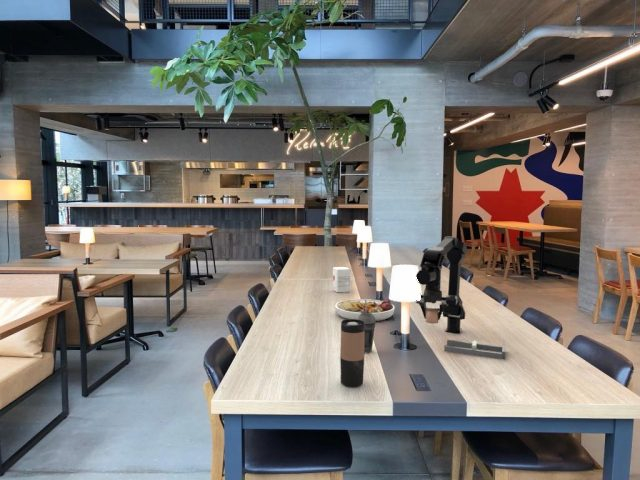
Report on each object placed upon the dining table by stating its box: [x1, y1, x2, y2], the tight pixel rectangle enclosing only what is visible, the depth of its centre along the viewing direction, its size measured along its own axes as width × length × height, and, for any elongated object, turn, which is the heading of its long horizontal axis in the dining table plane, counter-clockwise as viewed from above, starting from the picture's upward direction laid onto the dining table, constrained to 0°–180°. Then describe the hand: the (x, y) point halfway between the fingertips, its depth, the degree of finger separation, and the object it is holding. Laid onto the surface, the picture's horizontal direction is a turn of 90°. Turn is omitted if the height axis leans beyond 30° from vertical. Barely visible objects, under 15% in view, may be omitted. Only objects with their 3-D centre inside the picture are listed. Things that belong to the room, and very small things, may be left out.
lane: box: [443, 339, 507, 360], centre depth 176 cm, size 9×22×3 cm, turn 67°
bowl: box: [334, 298, 396, 322], centre depth 229 cm, size 30×30×8 cm
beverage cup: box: [358, 300, 377, 354], centre depth 174 cm, size 7×7×20 cm
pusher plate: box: [471, 340, 478, 350], centre depth 176 cm, size 6×2×3 cm, turn 157°
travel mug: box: [339, 319, 365, 388], centre depth 144 cm, size 8×8×20 cm
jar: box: [425, 306, 440, 325], centre depth 181 cm, size 5×5×6 cm
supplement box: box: [332, 266, 351, 293], centre depth 286 cm, size 9×9×15 cm
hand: (431, 319), depth 181 cm, fingers closed on jar, 5 cm apart
